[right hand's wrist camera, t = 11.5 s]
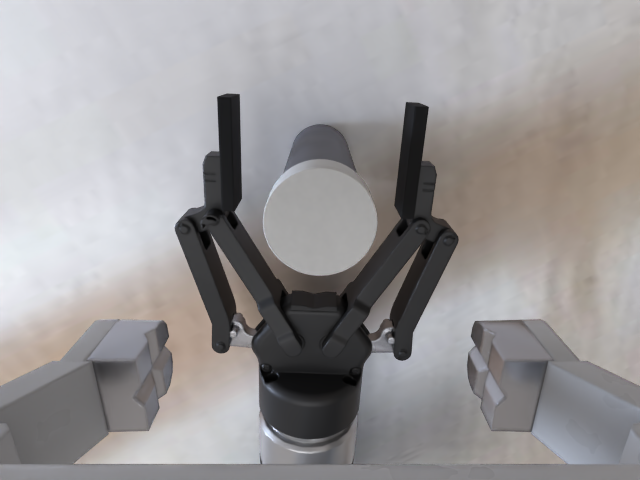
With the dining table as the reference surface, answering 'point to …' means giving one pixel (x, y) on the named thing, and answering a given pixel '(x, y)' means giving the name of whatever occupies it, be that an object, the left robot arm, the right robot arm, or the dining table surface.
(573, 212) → the dining table surface
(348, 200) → the lid
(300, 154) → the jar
